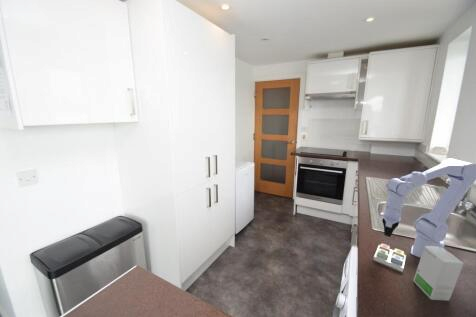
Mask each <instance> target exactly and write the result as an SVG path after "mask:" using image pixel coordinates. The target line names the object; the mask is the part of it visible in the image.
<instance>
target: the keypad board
mask: <svg viewBox="0 0 476 317" xmlns="http://www.w3.org/2000/svg"><path fill="white" fill-rule="evenodd" d="M380 246H381V244H378V246H377V248H376V251H375V253H374V255H373V260H372V261H373V262H376V263H379V265H380V264H381V265H382V266H385V267H388V268H390V269H391V270H395V271H397V272H399V273H402V274H403V272H404V270H405V262H406V258H407V254H405V253H404V255H403V260H402V264H401V266H400V265H397V264H395V263H393V262H392V257H393V254H394V250H395V249H392V248H390V249H389V252H388V255H387V259H386V260H385V259H383V258H380V257H378V256H377V255H378V251H379V248H380Z"/></svg>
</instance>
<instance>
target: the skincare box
mask: <svg viewBox="0 0 476 317" xmlns="http://www.w3.org/2000/svg"><path fill="white" fill-rule="evenodd" d="M464 264H465V263H464V262H463V261H461V260H460V259H459V258H457V257H456V256H455V255H454V254H453V253H452V252H449V251H447V250H446V249H445V247H444V248H442V247H435V246H424V249H423V252H422V255H421V258H420V259H419V263H418V265H417V267H416V272H415V275H414V278H413V281H412V282H414V283H415V284H416V286H417V287H418V288H419V289H420V290H421V291H422V292H423V293H424V295H426V297H428V298H429V299H430V300H431V301H447V302H449V301H450V299H451V298H452V295H453V292H454V289H455V288H456V284H457V282H458V279H459V277H460V274H461V272H462V270H463V269H462V268H463V266H464Z"/></svg>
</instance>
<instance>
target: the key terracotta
mask: <svg viewBox="0 0 476 317" xmlns="http://www.w3.org/2000/svg"><path fill="white" fill-rule="evenodd" d="M380 245H381V246H380V249H383V250H385V251H388V252H389V249H391V246H390V245H387V244H385V243H382V242H381V244H380Z"/></svg>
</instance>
